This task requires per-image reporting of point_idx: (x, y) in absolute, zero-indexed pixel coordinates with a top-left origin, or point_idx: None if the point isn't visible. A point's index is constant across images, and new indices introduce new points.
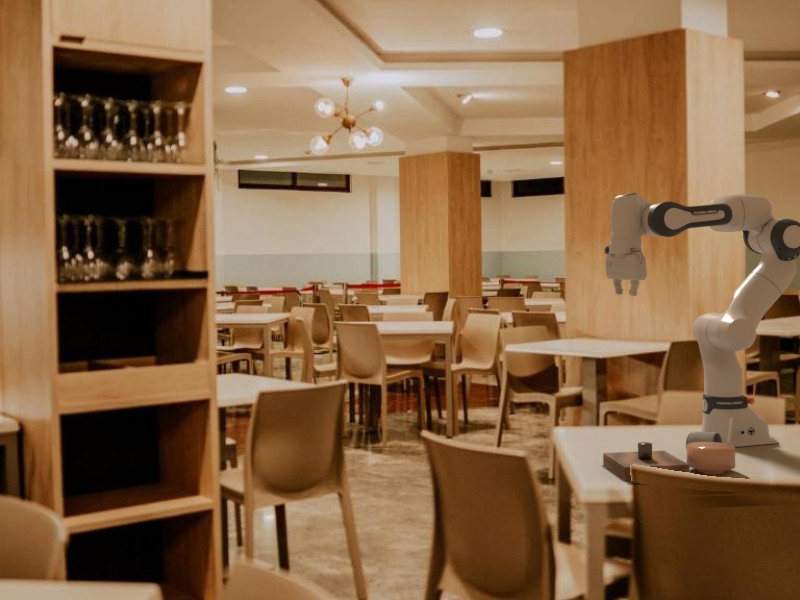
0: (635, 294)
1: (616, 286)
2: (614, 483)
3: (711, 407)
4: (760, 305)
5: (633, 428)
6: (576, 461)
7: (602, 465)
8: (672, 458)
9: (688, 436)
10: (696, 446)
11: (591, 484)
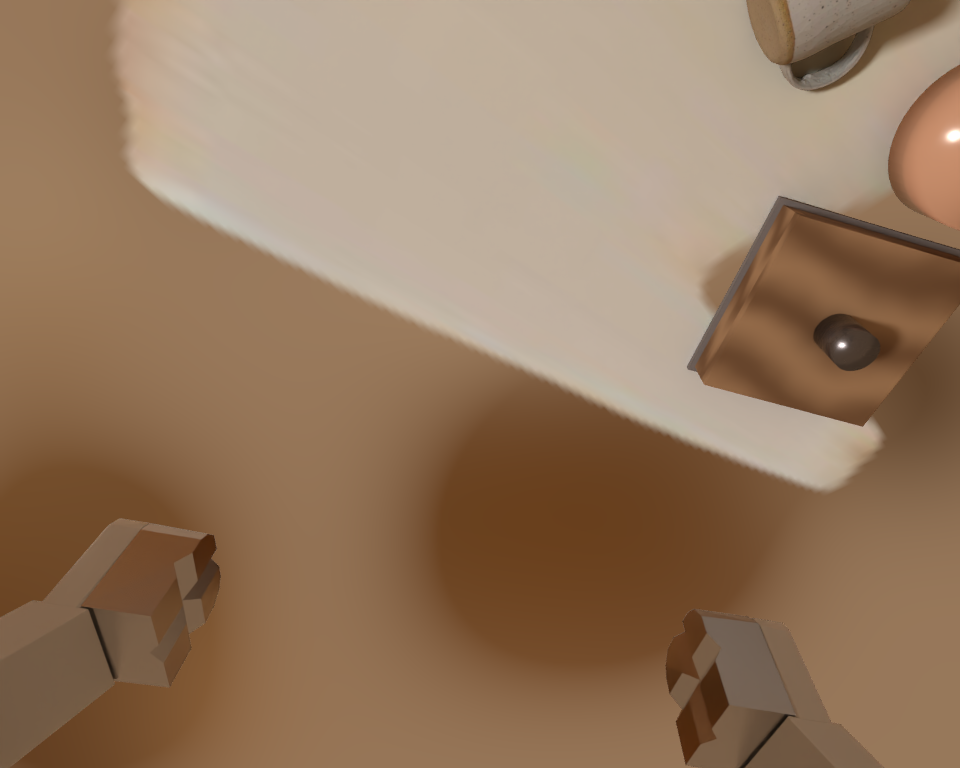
0: (775, 647)
1: (61, 711)
2: (827, 422)
3: None
4: None
5: None
6: (597, 381)
7: (690, 366)
8: (894, 263)
9: (792, 49)
10: None
11: (797, 463)
